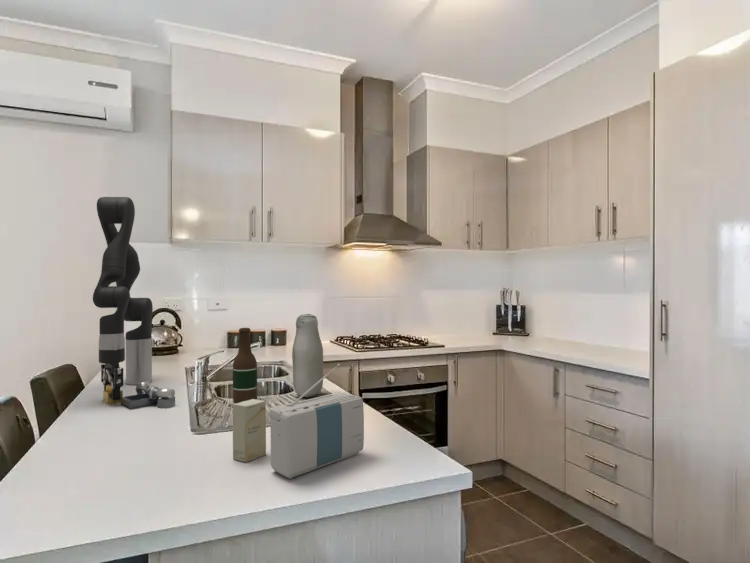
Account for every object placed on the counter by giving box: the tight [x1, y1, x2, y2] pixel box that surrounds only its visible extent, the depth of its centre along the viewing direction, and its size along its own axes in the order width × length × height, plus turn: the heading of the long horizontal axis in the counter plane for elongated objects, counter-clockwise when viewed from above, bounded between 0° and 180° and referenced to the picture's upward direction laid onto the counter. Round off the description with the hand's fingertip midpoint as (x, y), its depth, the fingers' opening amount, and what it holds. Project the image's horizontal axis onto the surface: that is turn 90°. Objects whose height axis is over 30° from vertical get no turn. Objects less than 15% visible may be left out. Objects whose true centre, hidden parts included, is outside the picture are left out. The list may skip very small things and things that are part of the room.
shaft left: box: [135, 380, 152, 395], centre depth 163 cm, size 7×4×6 cm, turn 16°
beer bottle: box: [232, 327, 258, 404], centre depth 157 cm, size 8×8×24 cm
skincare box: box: [232, 399, 267, 463], centre depth 107 cm, size 6×4×12 cm
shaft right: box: [149, 385, 176, 409], centre depth 152 cm, size 7×4×6 cm, turn 76°
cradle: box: [119, 393, 160, 411], centre depth 154 cm, size 9×9×2 cm
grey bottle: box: [291, 313, 324, 398], centre depth 163 cm, size 10×10×28 cm
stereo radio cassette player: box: [268, 363, 365, 480], centre depth 103 cm, size 21×8×20 cm, turn 136°
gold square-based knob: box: [102, 384, 124, 406], centre depth 157 cm, size 4×4×6 cm
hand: (112, 397), depth 157 cm, fingers open, 7 cm apart
